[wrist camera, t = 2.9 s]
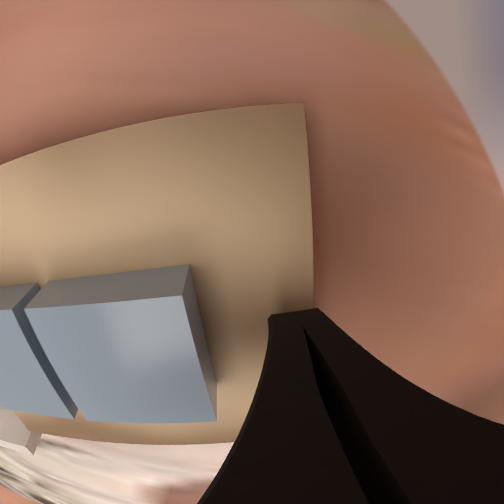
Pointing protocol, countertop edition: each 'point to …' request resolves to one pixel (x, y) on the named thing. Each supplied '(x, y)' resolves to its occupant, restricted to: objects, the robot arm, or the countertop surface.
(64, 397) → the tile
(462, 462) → the robot arm
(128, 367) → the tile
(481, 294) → the countertop surface
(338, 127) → the countertop surface
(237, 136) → the board
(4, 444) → the tray
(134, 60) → the countertop surface
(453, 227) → the countertop surface
